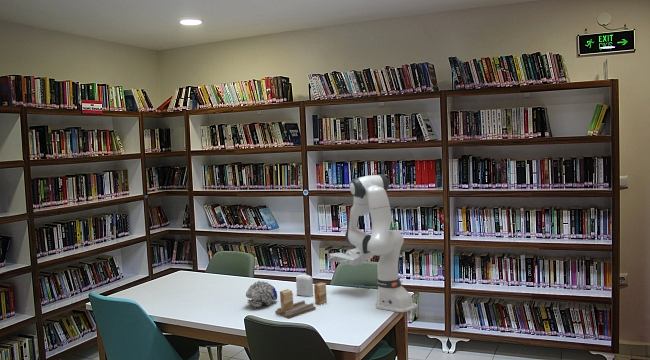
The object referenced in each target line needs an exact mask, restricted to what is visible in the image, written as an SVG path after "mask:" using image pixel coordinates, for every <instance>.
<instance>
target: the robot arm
mask: <svg viewBox="0 0 650 360" xmlns="http://www.w3.org/2000/svg"><path fill="white" fill-rule="evenodd" d="M389 188H390V182H389V179H388V177H387V176H386V175H384V174H371V175H365V176H360V177H356V178H353V179H351V180H350V183H349V190H350V191H349V192H350V193H351V195H352V196H353V205H351V206H350V208H349V212H348V218H347V227H346V231H345V242H346V243H348V244H350V245H353V246H355V248H351V249H347V250H346V251H345V253H342V252H334V253H330V254H329V258H327V261H328V262H330V263H331V262H336V263H339V265H347V266H348V265H349V266H361V265H363V262H367V261H369V260H371V259H372V258H373V257H374V256H379V259H378V261H377V264H376V267H377V269H376V270H377V278H376V280H377V281H376V286H377V297H376V303H375V305H376V309H379V310H386V311H391V312H397V313H405V312H410V311H412V310H415V309H417V307H418V304H417V303H415V302H413V296H412V294H411V293H410V292H408V290H406V288H405V287H404V286H402V284H403V283H404V282H403V280H400V277H399V259H400V253H401V249H402V246H403V245H404V242H405V239H404V236H403V234H402V233H401V231H397V230H391V225H392V222H393V217H392V210H391V204H390V200H389V197H388V194H387V191H388V190H389ZM368 214H370V221H371V231H370V232H371V234H369V233H368V232H365V231H362V230H360V229H359V227H358V221H359V217H362V216H363V217H364V216H366V215H368Z"/></svg>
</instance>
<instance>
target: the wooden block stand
mask: <svg viewBox="0 0 650 360" xmlns="http://www.w3.org/2000/svg"><path fill="white" fill-rule="evenodd" d="M293 295H294V294H293V290H291V289H288V288H287V289H284V290H281V291H279V297H280V298H279V300H280V307H278V308H276V310H275V313H274V314H276V315H278V316H280V317H284V318H287V319H292V318H296V317H299V316H302V315H304V314H307V313H310V312H313V311H315V310H317V309H316V306H314V303H312V302H311V303H308V304H307V303H306V301H305V300H301V301H298V302H294V296H293Z"/></svg>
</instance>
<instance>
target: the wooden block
mask: <svg viewBox="0 0 650 360" xmlns="http://www.w3.org/2000/svg"><path fill="white" fill-rule="evenodd" d="M313 294H314V302H315V303H314V304H316V305H318V304H319V306H321V304H322V305H324V303H325V304H327V303H328V297H327V283H326V282H321V281H320V282H318V283H314V284H313Z"/></svg>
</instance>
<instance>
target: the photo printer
mask: <svg viewBox="0 0 650 360" xmlns="http://www.w3.org/2000/svg"><path fill="white" fill-rule="evenodd" d="M295 277H296V278H295V280H296V281H295V282H296V294H297V296H303V297H309V298H310V297H311V298H312V297H313V296H314V284H313V283H314V281H313V280H314V279H313V276H311V275H309V274H304V273H303V274H297V275H296V276H295Z"/></svg>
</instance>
